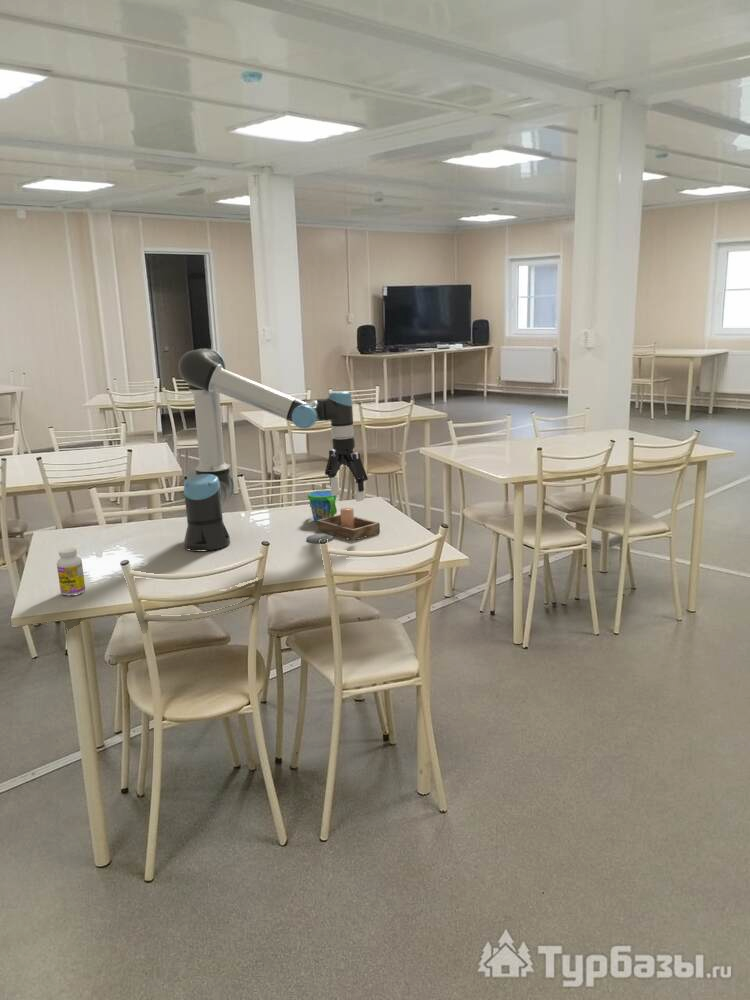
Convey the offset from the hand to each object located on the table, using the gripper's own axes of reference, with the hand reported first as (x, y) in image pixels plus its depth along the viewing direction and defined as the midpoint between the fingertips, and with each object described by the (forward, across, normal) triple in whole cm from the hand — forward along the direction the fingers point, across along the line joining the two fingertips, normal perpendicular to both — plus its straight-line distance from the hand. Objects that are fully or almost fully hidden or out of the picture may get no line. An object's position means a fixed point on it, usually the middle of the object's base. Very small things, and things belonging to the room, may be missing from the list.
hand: (347, 498), depth 266 cm
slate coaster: (+12, 0, +13) cm, 18 cm away
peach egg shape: (+12, 0, 0) cm, 12 cm away
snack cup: (+12, +19, -4) cm, 23 cm away
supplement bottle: (+11, +12, +92) cm, 94 cm away
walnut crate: (+12, 0, 0) cm, 12 cm away
